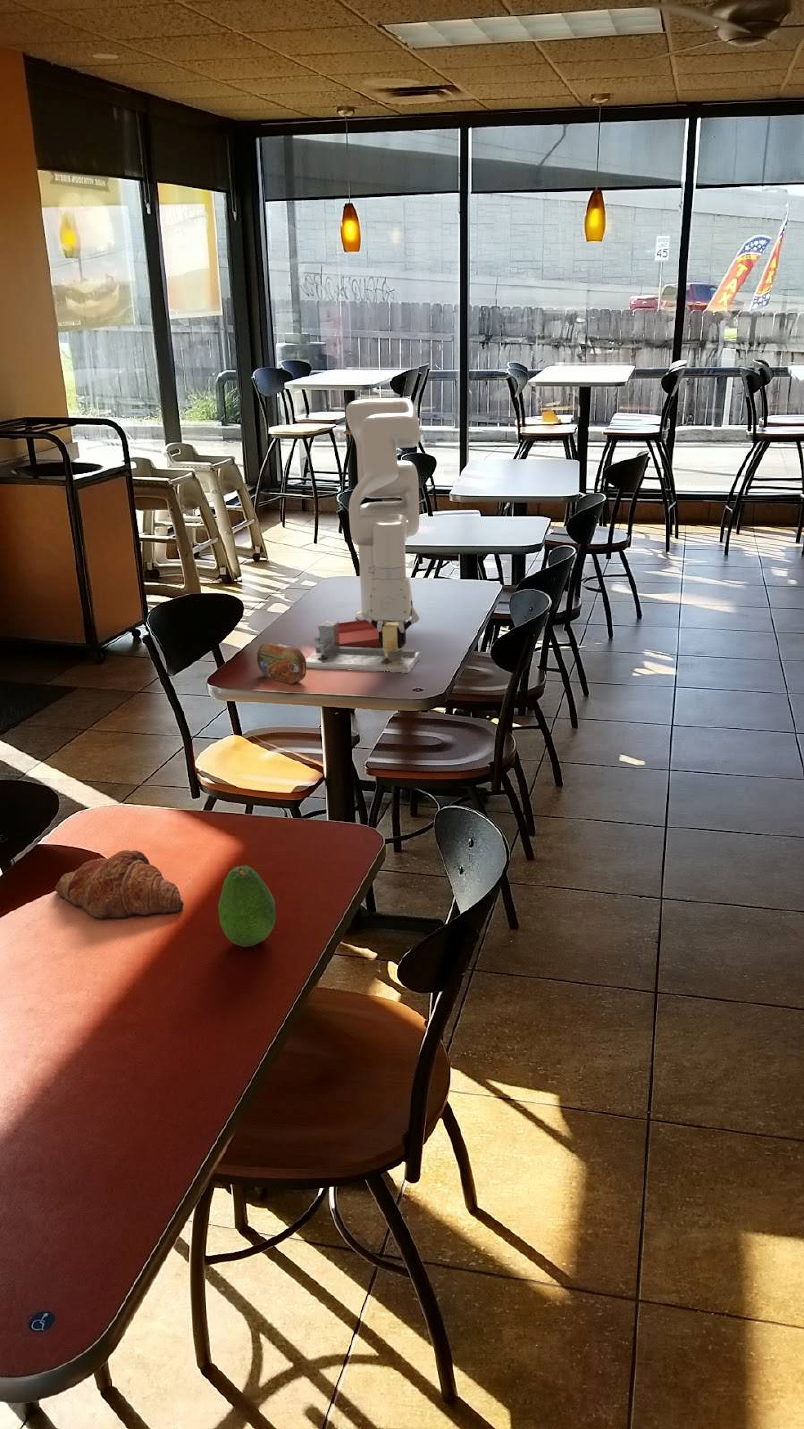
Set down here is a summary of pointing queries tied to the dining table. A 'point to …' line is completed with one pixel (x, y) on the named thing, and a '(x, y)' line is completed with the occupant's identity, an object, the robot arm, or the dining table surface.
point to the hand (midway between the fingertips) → (392, 645)
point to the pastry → (120, 888)
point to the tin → (281, 662)
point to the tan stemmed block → (390, 638)
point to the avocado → (246, 907)
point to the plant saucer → (358, 634)
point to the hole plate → (356, 654)
